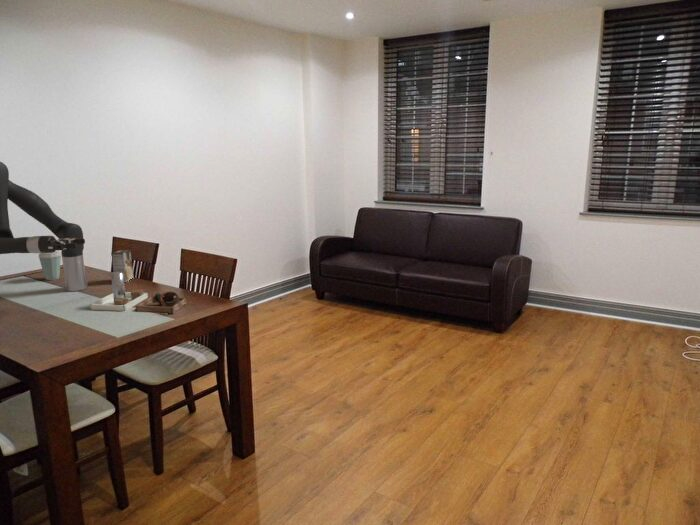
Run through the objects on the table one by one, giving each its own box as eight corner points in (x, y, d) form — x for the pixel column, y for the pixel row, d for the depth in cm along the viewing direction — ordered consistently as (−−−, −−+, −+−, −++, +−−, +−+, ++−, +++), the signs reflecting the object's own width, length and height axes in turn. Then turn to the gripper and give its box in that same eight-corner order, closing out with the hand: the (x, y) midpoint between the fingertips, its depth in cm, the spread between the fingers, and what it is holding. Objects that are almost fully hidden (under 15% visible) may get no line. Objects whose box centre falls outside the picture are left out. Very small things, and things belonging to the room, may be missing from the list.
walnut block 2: (134, 298, 236) (133, 289, 235) (143, 298, 236) (142, 289, 236) (131, 300, 232) (130, 292, 231) (140, 300, 233) (139, 292, 232)
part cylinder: (117, 301, 231) (114, 271, 228) (128, 301, 231) (125, 271, 228) (111, 304, 226) (108, 274, 223) (122, 305, 226) (119, 274, 223)
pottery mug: (183, 304, 231) (183, 292, 226) (174, 319, 224) (173, 306, 219) (158, 297, 231) (157, 284, 226) (148, 312, 224) (147, 299, 219)
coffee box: (122, 278, 274) (119, 249, 271) (133, 278, 274) (131, 249, 271) (114, 283, 265) (111, 253, 262) (126, 283, 265) (123, 253, 262)
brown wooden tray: (152, 302, 233) (152, 296, 232) (187, 303, 231) (187, 297, 230) (136, 312, 218) (135, 306, 218) (173, 314, 217) (172, 307, 216)
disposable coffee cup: (47, 276, 278) (43, 249, 274) (67, 276, 279) (64, 249, 275) (37, 281, 267) (33, 253, 264) (59, 281, 268) (55, 253, 265)
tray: (115, 297, 239) (115, 291, 239) (148, 299, 238) (147, 292, 237) (90, 311, 220) (89, 304, 219) (125, 312, 218) (124, 305, 218)
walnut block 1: (122, 306, 224) (121, 297, 223) (129, 307, 223) (128, 298, 222) (115, 308, 221) (114, 300, 220) (122, 309, 219) (121, 301, 218)
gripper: (31, 239, 212) (71, 238, 213) (48, 232, 225) (86, 231, 226) (34, 257, 214) (74, 255, 215) (51, 249, 227) (88, 247, 228)
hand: (80, 243), depth 221 cm, fingers open, 8 cm apart
